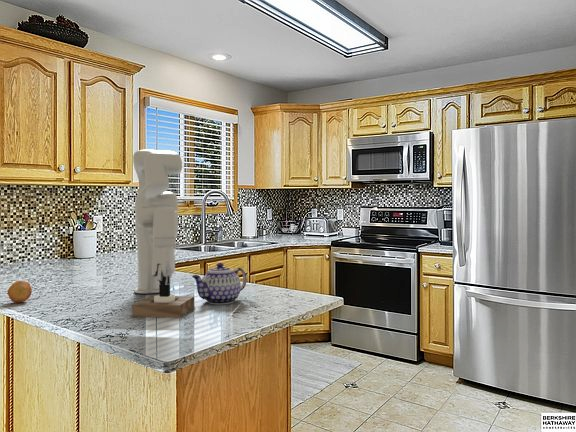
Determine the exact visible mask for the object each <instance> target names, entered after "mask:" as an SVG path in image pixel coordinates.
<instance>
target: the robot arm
mask: <svg viewBox="0 0 576 432" xmlns="http://www.w3.org/2000/svg"><path fill="white" fill-rule="evenodd" d="M132 158H133V159H132V162H133V167H134V170H135V174H136V176H137V179H138V193H137V196H135V202H134V212H135V213H134V214H135V224H134V225H135V235H136V244H137V287H136V288H134V289H133V292H134V293H135V294H158V293H159V294H158V295H159V296H160V297H168V296H170V294H171V278H172V276H173V274H174V273H175V271H176V270H175V269H176V259H175V258H176V257H175V248H176V247H177V245H176V244H177V241H176V240H177V236H178V231H179V214H178V213H179V204H178V203H179V202H178V197H177V194H176V193H174V192H172V191H168V189H169V188H170V182H169V181H170V180H169V176H168V175H180V174H181V172H182V171H183V162H182V161H183V160H182V157H181V155H180V154H179V153H177V152H175V151H172V150H156V149H155V150H154V149H139V150H137V151H135V152H134V153H133V155H132Z"/></svg>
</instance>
